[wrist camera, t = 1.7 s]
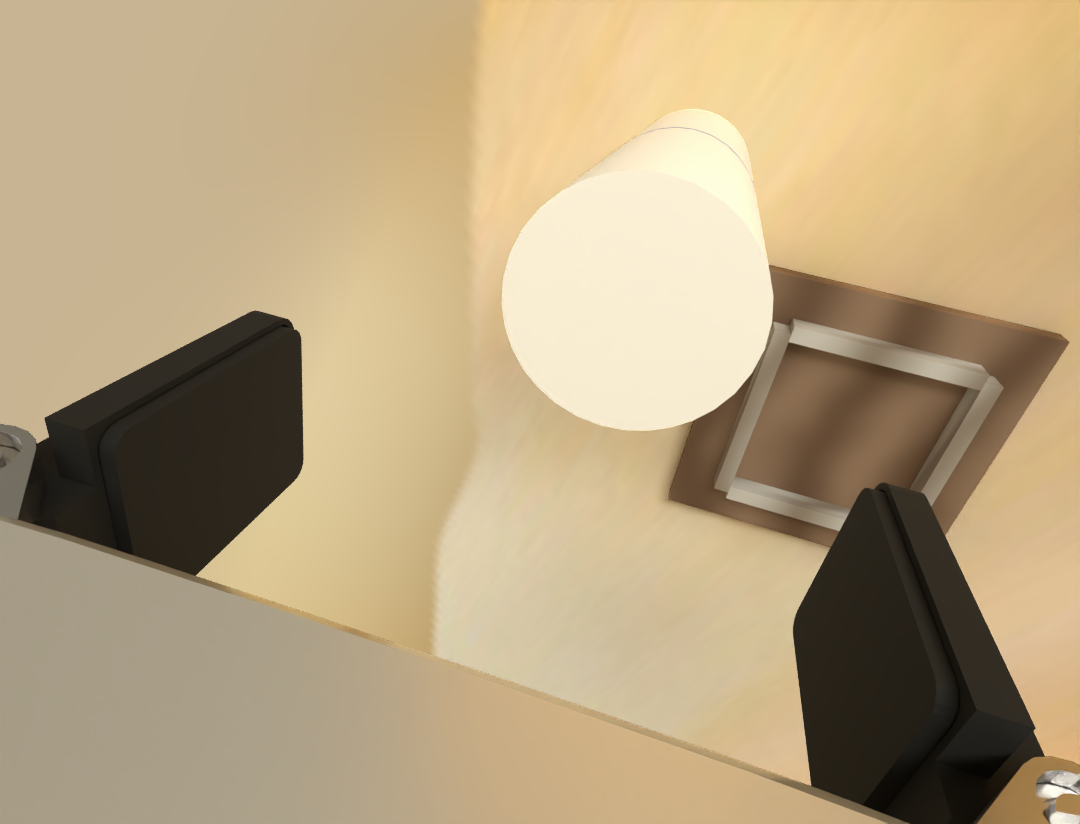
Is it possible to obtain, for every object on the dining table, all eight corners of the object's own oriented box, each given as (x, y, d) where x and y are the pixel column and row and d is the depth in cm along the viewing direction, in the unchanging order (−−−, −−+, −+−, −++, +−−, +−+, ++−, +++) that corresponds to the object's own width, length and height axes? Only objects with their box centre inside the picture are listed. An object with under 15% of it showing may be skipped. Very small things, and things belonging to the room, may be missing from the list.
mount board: (1060, 334, 37) (1081, 352, 35) (916, 562, 46) (925, 588, 44) (748, 260, 40) (749, 272, 37) (670, 490, 49) (666, 511, 46)
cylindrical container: (763, 212, 38) (802, 398, 17) (648, 251, 41) (557, 453, 20) (731, 87, 36) (730, 121, 14) (610, 137, 39) (460, 228, 17)
